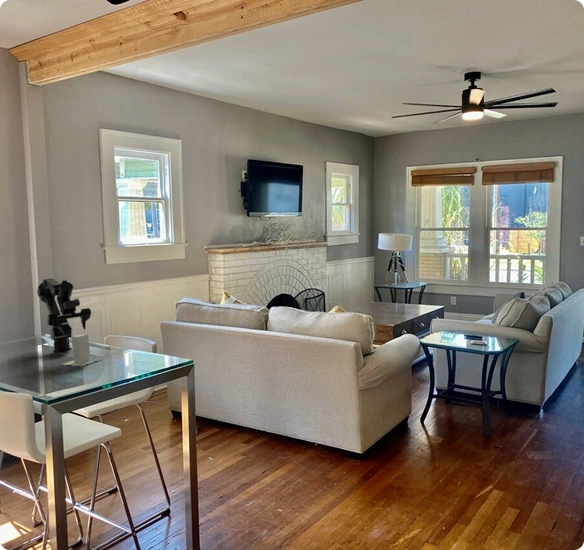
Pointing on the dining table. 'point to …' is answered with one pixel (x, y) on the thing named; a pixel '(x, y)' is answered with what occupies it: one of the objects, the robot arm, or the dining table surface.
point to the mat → (74, 363)
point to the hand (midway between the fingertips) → (74, 330)
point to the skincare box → (81, 348)
